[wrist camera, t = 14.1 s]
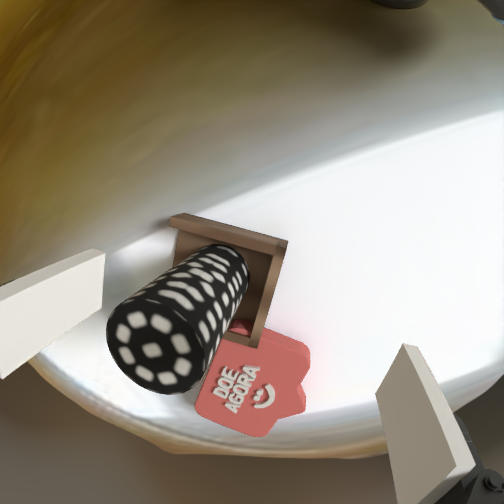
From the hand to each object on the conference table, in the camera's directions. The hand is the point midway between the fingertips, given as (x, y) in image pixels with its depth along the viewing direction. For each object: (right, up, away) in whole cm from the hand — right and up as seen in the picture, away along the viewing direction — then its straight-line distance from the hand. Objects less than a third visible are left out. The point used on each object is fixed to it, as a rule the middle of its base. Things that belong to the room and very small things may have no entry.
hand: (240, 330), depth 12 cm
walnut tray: (-3, 0, +29) cm, 29 cm away
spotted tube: (-4, 0, +29) cm, 29 cm away
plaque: (+2, -16, +31) cm, 35 cm away
